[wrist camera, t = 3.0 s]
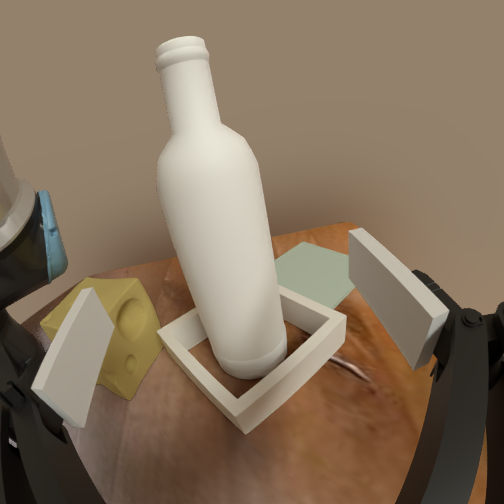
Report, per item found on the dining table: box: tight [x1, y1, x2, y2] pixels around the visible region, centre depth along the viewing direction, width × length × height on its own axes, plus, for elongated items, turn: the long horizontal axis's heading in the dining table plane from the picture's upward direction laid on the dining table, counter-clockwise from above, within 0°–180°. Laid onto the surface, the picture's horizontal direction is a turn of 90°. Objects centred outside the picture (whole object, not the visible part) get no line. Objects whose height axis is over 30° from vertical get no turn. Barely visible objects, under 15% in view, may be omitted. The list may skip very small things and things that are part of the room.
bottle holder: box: [157, 285, 346, 435], centre depth 28 cm, size 14×14×4 cm
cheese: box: [40, 277, 164, 401], centre depth 27 cm, size 10×11×10 cm
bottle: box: [155, 36, 287, 380], centre depth 22 cm, size 8×8×30 cm
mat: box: [274, 242, 355, 309], centre depth 39 cm, size 14×14×1 cm
